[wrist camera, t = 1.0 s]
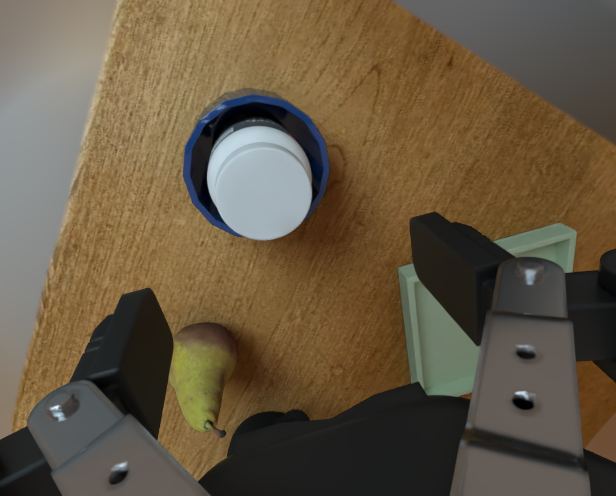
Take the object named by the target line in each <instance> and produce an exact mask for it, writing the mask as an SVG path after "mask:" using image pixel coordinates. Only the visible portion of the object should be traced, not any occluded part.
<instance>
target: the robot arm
mask: <svg viewBox="0 0 616 496" xmlns="http://www.w3.org/2000/svg"><path fill="white" fill-rule="evenodd" d="M410 236H411V246H412V256H413V265H414V269H415V272H416V275H417V277H418V279H419V280H420V282H421V283H422V284H423V285H424V286H425V287H426V289H427V290H428V291H429V292H430V293H431V294H432V295H433V297H434V298H435V299H436V300H437V301H438V302H439V304H440V305H441V306H442V307H443V308H444V309H445V310H446V312H447V313H448V314H449V315H450V316H451V317H452V318H453V320H454V321H455V322H456V323H457V324H458V325H459V326H460V328H461V329H462V330H463V331H464V332H465V333H466V334H467V336H468V337H469V338H470V339H471V340H472V341H473V342H474V344H475V345H476V346H477V347H478V346H480V351H479V357H478V362H477V368H476V373H475V379H474V384H473V390H472V395H471V400H469V399H465V398H461V397H456V396H448V395H427V394H426V393H425V391H424V389H423V387H422V386H421V384H420V382H419V381H418V382H415V383H412V384H408V385H405V386H402V387H398V388H395V389H392V390H388V391H385V392H382V393H378V394H375V395H373V396H371V397H369V398H368V399H366V400H364V401H362V402H360V403H359V404H357V405H355V406H353V407H351V408H350V409H348V410H346V411H344V412H342V413H341V414H339V415H337V416H335V417H333V418H330V419H325V420H312V421H299V422H286V423H278V424H275V425H271V426H268V427H265V428H261V429H258V430H255V431H251V432H248V433H245V434H241V435H238V436H235V437H233V451H234V454H232V455H230V456H229V457H227V458H225V459H224V460H222V461H221V462H220V463H218V464H217V465H216V466H214V467H213V468H212V469H211V470H210V471H208V472H207V473H206V474H205V475H204V476H203V477H202V478H201V479H200V480H199V481H198V482H197V481H196V480H195V479H194V478H193V477H192V476H191V475H190V474H189V473H188V472H187V471H186V470H185V469H184V468H183V467H182V466H181V465H180V464H179V463H178V461H177V460H176V459H175V458H174V457H173V456H172V455H171V454H170V453H169V452H168V451H167V450H166V449H165V448H164V447H163V446H162V445H161V444H160V443H159V442H158V441H157V439H158V433H159V428H160V422H161V417H162V411H163V406H164V400H165V395H166V389H167V384H168V378H169V372H170V367H171V361H172V356H173V350H174V343H173V337H172V333H171V330H170V328H169V326H168V323H167V321H166V319H165V317H164V314H163V312H162V310H161V308H160V305H159V303H158V301H157V299H156V296H155V294H154V293H153V291H152V290H151V289H150V288H145V289H141V290H138V291H134V292H130V293H126V294H123V295H122V296H121V298H120V300H119V303H118V305H117V307H116V309H115V312H114V314H111V315H108V316H107V317H106V318H105V319H104V320H103V321H102V322H101V323H100V324H99V325H98V326H97V327H96V328H95V330H94V332H93V334H92V336H91V339H90V343H88V345H87V347H86V349H85V353H83V355H82V357H81V359H80V361H79V363H78V365H77V367H76V369H75V372H74V374H73V376H72V378H71V380H70V382H69V383H68V384H66V385H63V386H61V387H59V388H57V389H56V390H54V391H52V392H51V393H50V394H48V395H47V396H46V397H44V398H43V399H42V400H41V401H40V402H39V403H38V404H37V405H36V406H35V407H34V408H33V410H32V411H31V413H30V415H29V417H28V420H27V426H26V427H25V428H23V429H21V430H19V431H17V432H15V433H13V434H11V435H9V436H7V437H5V438H3V439H1V440H0V496H616V463H615V462H613V461H611V460H608V459H606V458H604V457H601V456H599V455H597V454H595V453H593V452H590V451H588V450H586V449H584V448H583V443H582V430H581V418H580V406H579V394H578V381H577V369H576V361H593V362H594V363H595V364H596V365H597V366H598V367H599V368H600V369H601V370H602V371H603V372H605V373H606V374H607V375H608V376H609V377H610V378H611V379H612V380H613V381H614V382H616V249H613V250H610V251H608V252H605V253H604V254H603V255H602V256H601V258H600V264H599V270H595V271H583V272H569V273H564V270H563V268H562V267H561V266H560V265H558V264H557V263H555V262H553V261H550V260H547V259H543V258H538V257H517V258H516V257H515V256H514V255H512V254H511V253H509V252H508V251H506V250H505V249H503V248H502V247H500V246H499V245H497V244H496V243H495V242H493V241H490V239H489V238H487V237H486V236H484V235H482V234H481V233H480V232H478V231H477V230H476V229H474V228H473V227H471V226H468V225H464V224H461V223H457V222H454V223H451V222H449V221H448V220H447V219H445V218H444V217H442V216H441V215H440V214H438V213H437V212H431V213H427V214H424V215H420V216H416V217H412V218H411V219H410Z"/></svg>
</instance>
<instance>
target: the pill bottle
mask: <svg viewBox="0 0 616 496" xmlns="http://www.w3.org/2000/svg"><path fill="white" fill-rule="evenodd" d="M207 183H208V189H209V193H210V196H211V198H212V200H213V202H214V204H215V206H216V207H217V209H218V211H219V214H220V215H221V217H222V219H223V220H224V222H225V223H226V224H227V225H228V226H229V227H230V228H231V229H232V230H234V231H235V232H236V233H238V234H240V235H242V236H244V237H247V238H250V239H254V240H273V239H277V238H280V237H283V236H285V235H287V234H289V233H290V232H292V231H293V230H294V229H296V228H297V227H298V226H299V225H300V224H301V223H302V221H303V220H304V219H305V217H306V215H307V213H308V211H309V208H310V205H311V201H312V186H311V184H312V174H311V168H310V164H309V161H308V158H307V156H306V154H305V152H304V151H303V149H302V148H301V146H300V145H299V144H298V142H297V141H296V140H295V139H294V138H293V136H292V135H291V134H290V133H289V131H288V130H287V129H286V128H285V127H284V126H283V125H282V124H281V123H280V122H279V121H278V120H276V119H275V118H273V117H271V116H269V115H266V114H263V113H257V112H248V113H243V114H239V115H237V116H234V117H232V118H231V119H229V120H228V121H227V122H225V123H224V124H223V125H222V126H221V127H220V129H219V130H218V132H217V134H216V135H215V138H214V140H213V143H212V148H211V154H210V159H209V164H208V170H207Z"/></svg>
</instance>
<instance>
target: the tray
mask: <svg viewBox="0 0 616 496" xmlns="http://www.w3.org/2000/svg"><path fill="white" fill-rule="evenodd" d="M576 235H577V231H576V230H574V229H572V228H570V227H568V226H566V225H564V224H562V223H557V224H553V225H550V226H546V227H542V228H539V229H535V230H532V231H528V232H524V233H521V234H517V235H513V236H510V237H506V238H503V239H499V240H495V241H493V242H495V243H496V244H497V245H499V246H500V247H502V248H503V249H505V250H506V251H508V252H509V253H511V254H512V255H514V256H515V257H516V258H517V257H538V258H543V259H547V260H550V261H553V262H555V263H557V264H558V265H560V266H561V267H562V268H563V270H564V273H569V272H572V271H573V262H574V253H575V244H576ZM398 276H399V284H400V293H401V301H402V310H403V318H404V327H405V335H406V344H407V352H408V361H409V369H410V378H411V384H412V383H415V382H418V381H419V382H420V384H421V386H422V387H423V389H424V391H425V393H426V394H427V395H448V396H456V397H458V396H461V395H464V394H468V393H471V392H472V390H473V384H474V379H475V373H476V368H477V362H478V357H479V351H480V346H478V347H477V346H476V345H475V344H474V342H473V341H472V340H471V339H470V338H469V337H468V336H467V334H466V333H465V332H464V331H463V330H462V329H461V328H460V326H459V325H458V324H457V323H456V322H455V321H454V320H453V318H452V317H451V316H450V315H449V314H448V313H447V312H446V310H445V309H444V308H443V307H442V306H441V305H440V304H439V302H438V301H437V300H436V299H435V298H434V297H433V295H432V294H431V293H430V292H429V291H428V290H427V289H426V287H425V286H424V285H423V284H422V283H421V282H420V280H419V279H418V277H417V275H416V272H415V269H414V265H413V263H412V264H408V265H405V266H401V267H398Z"/></svg>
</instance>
